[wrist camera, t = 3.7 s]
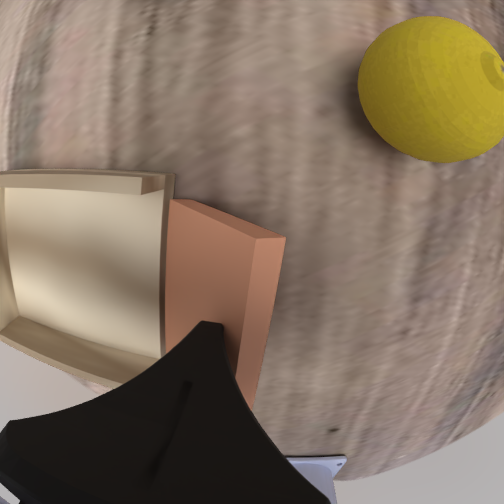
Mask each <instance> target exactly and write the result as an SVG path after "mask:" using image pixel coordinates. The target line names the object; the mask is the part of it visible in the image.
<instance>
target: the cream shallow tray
mask: <svg viewBox="0 0 504 504" xmlns="http://www.w3.org/2000/svg"><path fill="white" fill-rule="evenodd" d="M175 175H176V174H171V173H158V172H144V171H127V170H104V169H18V170H8V171H1V172H0V341H2V342H4V343H6V344H7V345H9V346H11V347H13V348H15V349H17V350H19V351H21V352H23V353H25V354H27V355H29V356H31V357H33V358H35V359H37V360H39V361H42V362H44V363H46V364H48V365H51V366H53V367H56V368H58V369H60V370H62V371H65V372H67V373H70V374H72V375H75V376H78V377H80V378H83V379H86V380H89V381H91V382H94V383H97V384H100V385H103V386H106V387H109V388H112V389H115V388H117V387H119V386H121V385H122V384H124V383H126V382H127V381H129V380H131V379H132V378H134V377H136V376H137V375H139V374H140V373H142V372H143V371H145V370H146V369H147V368H149V367H150V366H151V365H153V364H154V363H155V362H157V361H158V360H159V359H160V358H162V357H163V356H164V355H165V354H166V339H165V280H166V251H167V232H168V217H169V204H170V199H173V195H174V184H175Z"/></svg>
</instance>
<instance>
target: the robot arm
mask: <svg viewBox="0 0 504 504" xmlns="http://www.w3.org/2000/svg"><path fill="white" fill-rule="evenodd" d="M346 461H347V458H346V456H335V457H313V458H285V457H284V455H283V454H282V453H281V452H280V451H279V449H278V448H277V447H276V446H275V444H274V443H273V442H272V440H271V439H270V438H269V436H268V435H267V434H266V432H265V431H264V430H263V428H262V427H261V426H260V424H259V423H258V421H257V419H256V418H255V416H254V415H253V413H252V411H251V410H250V408H249V406H248V404H247V402H246V401H245V399H244V397H243V395H242V393H241V390H240V388H239V386H238V384H237V381H236V379H235V376H234V374H233V371H232V368H231V365H230V362H229V359H228V355H227V352H226V347H225V342H224V327H223V325H222V324H221V323H217V322H210V321H204V320H202V321H200V322H199V323H198V324H197V325H196V326H195V327H194V328H193V329H192V330H191V331H190V332H189V333H188V334H187V335H186V336H185V337H184V338H183V339H182V340H181V341H180V342H179V343H178V344H177V345H176V346H175V347H173V348H172V349H171V350H170V351H169V352H168V353H167V354H165V355H164V356H163V357H162V358H160V359H159V360H158V361H157V362H155V363H154V364H153V365H151V366H150V367H149V368H147V369H146V370H145V371H143V372H142V373H140V374H139V375H137V376H136V377H134V378H132V379H131V380H129V381H127V382H126V383H124V384H122V385H121V386H119V387H117V388H115V389H113V390H111V391H109V392H107V393H105V394H103V395H101V396H98V397H96V398H94V399H92V400H90V401H87V402H84V403H82V404H79V405H76V406H73V407H70V408H67V409H64V410H61V411H57V412H53V413H49V414H45V415H41V416H36V417H30V418H24V419H18V420H10V421H9V422H8V423H7V425H6V426H5V427H4V428H3V430H2V431H1V433H0V483H1V484H2V485H3V486H5V487H6V488H7V489H8V490H9V491H10V492H11V493H12V494H14V495H15V496H16V497H17V498H18V499H19V500H20V502H19V504H337V500H336V495H335V489H334V483H333V478H334V476H335V475H336V474H337V473H338V471H339V470H340V469H341V468H342V466H343V465H344V464H345V462H346ZM0 504H9V503H8V502H7V501H6V500H4V499H3V498H2V497H0Z"/></svg>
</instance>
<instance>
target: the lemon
mask: <svg viewBox="0 0 504 504" xmlns="http://www.w3.org/2000/svg"><path fill="white" fill-rule="evenodd" d="M358 91H359V98H360V103H361V105H362V108H363V110H364V113H365V116H366V117H367V119H368V120H369V122H370V124H371V125H372V127H373V128H374V129H375V131H376V132H377V133H378V134H379V135H380V136H381V137H382V138H383V139H384V140H385V141H386V142H387V143H389V144H390V145H392V146H393V147H394V148H396V149H397V150H399V151H400V152H402V153H405V154H407V155H410V156H412V157H414V158H417V159H419V160H424V161H431V162H438V163H451V162H457V161H462V160H467V159H471V158H474V157H477V156H479V155H481V154H483V153H485V152H486V151H488V150H489V149H491V148H492V147H494V146H495V145H496V144H498V143H499V142H500V140H501V139H502V138H503V136H504V62H503V61H502V59H501V58H500V56H499V54H498V53H497V52H496V51H495V49H494V48H493V47H492V46H491V45H490V43H489V42H488V41H486V40H485V39H484V38H483V37H482V36H481V35H480V34H478V33H477V32H476V31H474V30H473V29H471V28H469V27H468V26H466V25H464V24H462V23H460V22H458V21H455V20H452V19H449V18H445V17H440V16H424V17H416V18H412V19H408V20H406V21H403V22H401V23H399V24H396V25H394V26H392V27H390V28H388V29H386V30H385V31H384V32H382V33H381V34H380V35H379V36H378V37H377V38H376V40H375V41H374V42H373V43H372V44H371V45H370V46H369V47H368V49H367V51H366V53H365V55H364V57H363V60H362V62H361V65H360V67H359V75H358Z"/></svg>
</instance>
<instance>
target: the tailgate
mask: <svg viewBox="0 0 504 504" xmlns="http://www.w3.org/2000/svg"><path fill="white" fill-rule="evenodd" d="M285 241H286V237H284V236H282V235H279V234H277V233H274V232H272V231H269V230H267V229H265V228H262V227H260V226H257V225H255V224H252V223H250V222H247V221H245V220H242V219H240V218H237V217H235V216H232V215H230V214H227V213H225V212H222V211H220V210H217V209H215V208H212V207H209V206H207V205H204V204H202V203H199V202H197V201H194V200H190V199H170V204H169V217H168V232H167V251H166V280H165V339H166V354H167V353H168V352H169V351H170V350H171V349H172V348H173V347H175V346H176V345H177V344H178V343H179V342H180V341H181V340H182V339H183V338H184V337H185V336H186V335H187V334H188V333H189V332H190V331H191V330H192V329H193V328H194V327H195V326H196V325H197V324H198V323H199V322H200V321H202V320H204V321H210V322H217V323H221V324H222V325H223V327H224V342H225V347H226V352H227V355H228V359H229V362H230V365H231V368H232V371H233V374H234V376H235V379H236V381H237V384H238V386H239V388H240V390H241V393H242V395H243V397H244V399H245V401H246V402H247V404H248V406H249V408H250V410H251V411H252V407H253V403H254V399H255V394H256V389H257V385H258V380H259V376H260V371H261V366H262V362H263V357H264V352H265V347H266V342H267V337H268V332H269V327H270V322H271V317H272V312H273V307H274V302H275V296H276V291H277V286H278V280H279V275H280V269H281V264H282V258H283V252H284V247H285Z"/></svg>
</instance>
